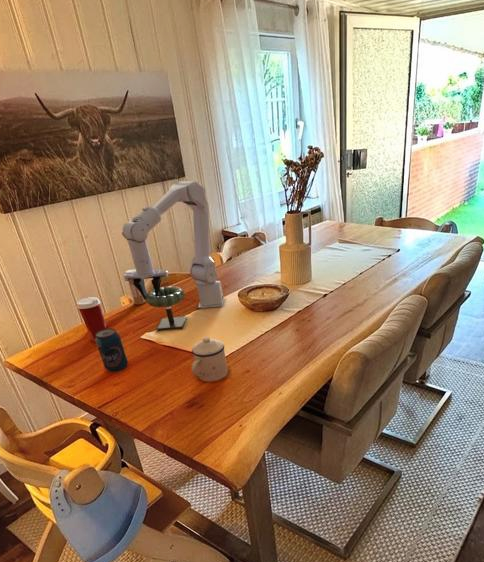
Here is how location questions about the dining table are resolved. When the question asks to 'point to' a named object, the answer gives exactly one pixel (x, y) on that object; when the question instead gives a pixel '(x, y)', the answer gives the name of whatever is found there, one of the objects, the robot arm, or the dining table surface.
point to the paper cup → (92, 315)
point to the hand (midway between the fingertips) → (152, 298)
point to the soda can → (111, 350)
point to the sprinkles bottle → (135, 290)
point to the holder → (171, 321)
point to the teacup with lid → (209, 360)
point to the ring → (165, 297)
